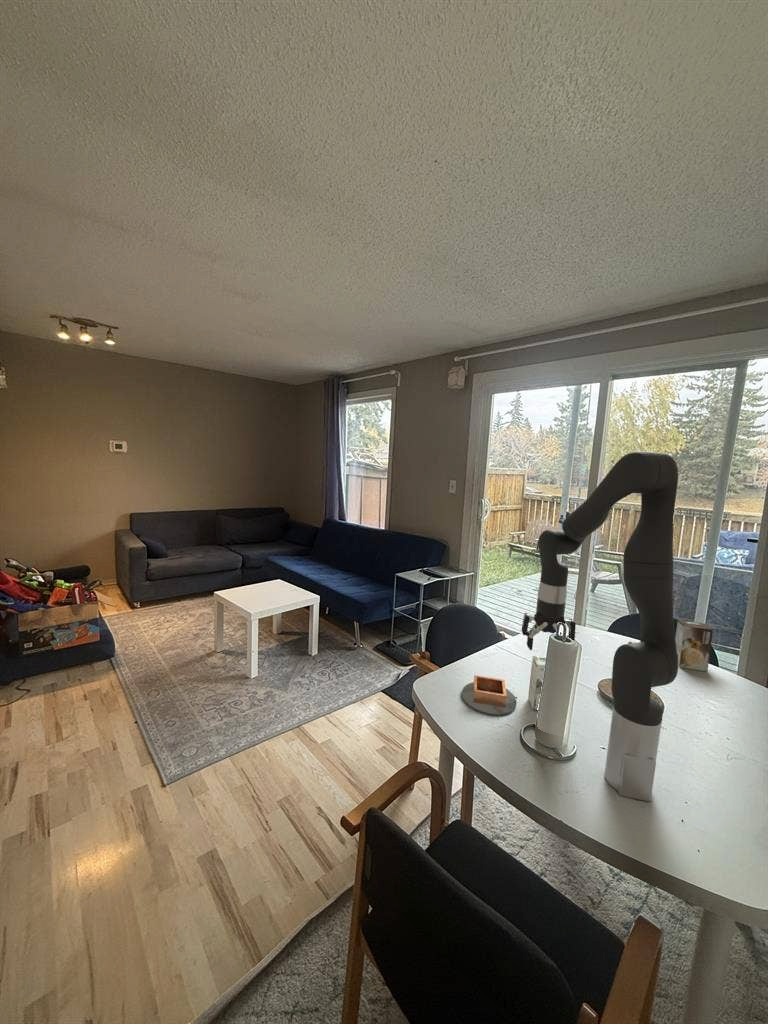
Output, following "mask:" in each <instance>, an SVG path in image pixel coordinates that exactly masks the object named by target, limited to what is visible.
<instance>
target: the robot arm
mask: <svg viewBox="0 0 768 1024" xmlns="http://www.w3.org/2000/svg"><path fill="white" fill-rule="evenodd" d="M678 481H679V468H678V465H677V462H676V460H675V458H674V457H672V456H671V455H669V454H668V453H665V452H657V451H656V452H655V451H643V450H640V451H638V450H635V451H631V452H627V453H626V454H624V455H623V456H621V458H619V460H618V461H617V462H616V463H615V464H614V465H613V467H612V468H611V469H610V470H609V471H608V472H607V474H606V475H605V476H604V478H603V479H602V481H601V482H600V483H599V484H598V485H597V487H596V488H595V489H594V490H593V491H592V493H591V494H590V495H589V496H588V497H587V499H585V501H583V502H582V503H581V504H580V505H579V506H578V507H577V508H575V510H573V511H572V512H571V513H570V514H568V516H566V518H565V519H564V520H563V521H562V524H561V528H562V529H545V530H543V531H542V532H541V533H540V535H539V536H538V537H539V538H538V540H537V548H538V553H539V558H540V559H539V560H540V564H541V566H540V567H541V572H540V581H539V585H538V591H537V601H536V610H535V614H534V615H533V614H529V613H527V612H525V613H524V614H523V620H522V625H521V632H522V633H521V634H522V635H523V636H526V637H527V638H526V639H527V640H526V646H527V648H528V650H530V651H532V650H533V647H534V646H533V645H534V637H535V636H536V635H537V634H539V633H540V632H542V633H550V634H555V632H556V629H557V623H558V622H562V623H564V624H565V625H566V627H567V628H568V635H566V636H567V637H569V638H571V639H572V640H574V642H575V640H576V625H577V623H576V621H575V620H574V619H573V618H570V619H565V611H566V604H567V603H566V602H567V594H568V590H567V587H568V586H567V585H568V576H569V567H568V565H567V564H566V563H564V562H560V561H558V556H557V555H560V556H561V555H569V554H573V553H574V552H576V551H577V550H579V549H580V548H581V545H582V544H583V543H584V541H585V540H586V538H587V537H588V536H590V535H591V534H592V533H594V532H596V531H597V530H598V529H599V528H600V527H601V526H603V524H604V523H605V522H606V521H607V520H608V516H609V514H610V512H611V509H612V508H613V506H614V505H616V503H618V502H619V501H621V500H623V499H624V498H626V497H628V496H631V494H638V495H639V494H640V495H641V496H640V497H641V498H640V499H641V500H640V501H641V502H640V515H639V518H638V522H637V524H636V526H635V528H634V530H633V531H632V533H631V535H630V537H629V539H628V541H627V543H626V545H625V548H624V551H623V559H622V560H623V583H624V586H625V588H626V591H627V592H628V595H629V597H630V599H631V601H632V602H633V604H634V606H635V608H636V610H637V612H638V614H639V619H640V642H635V643H634V642H633V643H630V644H628V643H625V644H622V645H620V646H618V647H617V648H616V651H615V652H614V656H613V661H612V672H611V673H612V674H611V688H610V689H611V693H612V699H613V704H612V705H613V706H612V713H611V721H610V726H609V727H610V728H609V729H610V730H609V737H608V743H607V751H606V761H605V766H604V767H605V768H604V778H605V780H606V782H607V783H608V784H609V785H610V786H611V788H613V789H614V790H615V791H617V793H618V795H619V796H620V797H625V798H631V799H635V800H640V801H646V802H652V801H651V800H652V793H653V785H654V779H655V772H656V767H657V766H656V765H657V755H658V751H659V741H660V736H661V735H660V734H661V730H662V729H661V728H662V722H663V714H664V711H663V708H662V705H661V704H659V702H658V701H656V700H655V699H654V698H652V697H651V695H652V694H651V692H652V688H656V687H663V686H666V685H667V686H668V685H669V684H672V683H673V682H674V680H675V679H676V678H677V675H678V671H679V667H678V657H677V649H676V641H675V638H676V632H675V626H674V624H675V623H674V591H673V590H674V520H675V519H674V518H675V515H674V514H675V506H676V498H677V491H678V484H679V483H678ZM532 621H534V622H535V624H533V625H532V627H531V629H529V623H532ZM528 629H529V630H528ZM556 633H557V632H556ZM561 634H562V633H561V632H560V635H561Z"/></svg>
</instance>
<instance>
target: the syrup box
mask: <svg viewBox="0 0 768 1024" xmlns="http://www.w3.org/2000/svg"><path fill="white" fill-rule="evenodd" d="M546 657H547V656H538V655H532V660H531V668H530V679H529V689H528V698H527V699H528V702H529V704H530V705H531V706H530V707H531V708H532V710H533V711H538V710H537V708H538V704H539V699H540V694H541V687H542V680H543V675H544V669H545V661H546Z"/></svg>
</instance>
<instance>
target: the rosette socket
mask: <svg viewBox="0 0 768 1024" xmlns="http://www.w3.org/2000/svg"><path fill="white" fill-rule="evenodd" d="M505 682H506V681H505V679H501V678H494V677H489V676H481V675H477V674H476V675H473V682H470V683H468V684H465V685H464V687H463V688H462V691H461V698H462V700H463V701H464V703H465V704H466V705H467V706H468V707H469V708H471V709H473V710H474V711H476V712H478V713H480V714H484V715H488V716H497V717H499V716H506V715H507V716H508V715H509V714H511V713H513V712H514V711H515V710H516V708H517V698H516V697H515V695H514V694H513V693H512V692H511V691H510V690H509V689H507V688H506V683H505Z"/></svg>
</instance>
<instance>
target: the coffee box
mask: <svg viewBox="0 0 768 1024" xmlns="http://www.w3.org/2000/svg"><path fill="white" fill-rule="evenodd" d="M713 632H714V629H713V628H711V627H710V626H709V625H707V624H706V623H703V622H702V623H701V622H694V621H688V620H681V619H678V620H677V623H676V631H675V641H676V649H677V657H678V668H682V669H689V670H695V671H696V670H697V671H702V672H708V669H709V663H710V654H711V647H712V639H713Z"/></svg>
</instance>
